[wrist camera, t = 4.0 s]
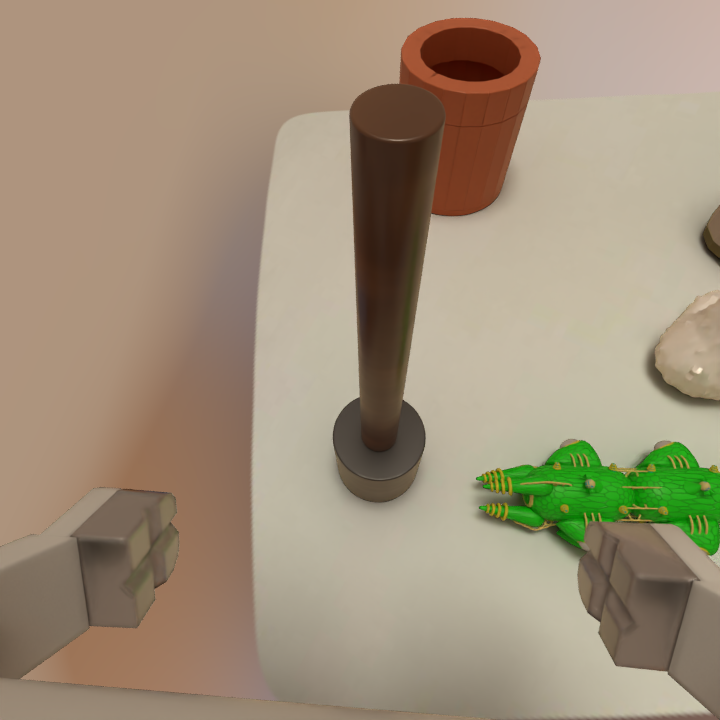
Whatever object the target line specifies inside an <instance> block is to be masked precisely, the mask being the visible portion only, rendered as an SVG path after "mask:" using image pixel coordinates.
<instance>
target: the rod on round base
mask: <svg viewBox="0 0 720 720" xmlns="http://www.w3.org/2000/svg"><path fill="white" fill-rule="evenodd" d="M349 117H350V144H351V171H352V198H353V225H354V252H355V280H356V307H357V334H358V361H359V388H360V397H359V398H357V399H355V400H353V401H352V402H350V403H349V404H348V405H347V406H346V407H345V408H344V409H343V410H342V411H341V413H340V414H339V416H338V418H337V420H336V422H335V425H334V430H333V445H334V450H335V455H336V460H337V465H338V470H339V474H340V477H341V479H342V481H343V483H344V484H345V486H346V487H347V488H348V489H349V490H350V491H351V492H352V493H353V494H355V495H356V496H358V497H360V498H362V499H364V500H367V501H372V502H384V501H389V500H392V499H395V498H397V497H398V496H400V495H402V494H403V493H404V492H405V491H406V490H407V489H408V488H409V487H410V486H411V484H412V483H413V481H414V479H415V476H416V473H417V470H418V467H419V464H420V460H421V457H422V454H423V451H424V447H425V439H426V437H425V429H424V425H423V422H422V420H421V418H420V416H419V415H418V413H417V412H416V411H415V409H414V408H413V407H412V406H411V405H409V404H408V403H407V402H405V401H404V400H403V394H404V387H405V381H406V374H407V368H408V361H409V355H410V348H411V341H412V335H413V328H414V322H415V315H416V309H417V302H418V296H419V289H420V283H421V276H422V269H423V263H424V256H425V250H426V243H427V237H428V230H429V224H430V217H431V211H432V204H433V197H434V191H435V184H436V178H437V171H438V165H439V158H440V152H441V145H442V138H443V132H444V125H445V119H446V113H445V109H444V106H443V104H442V102H441V101H440V100H439V99H438V98H437V97H436V96H435V95H434V94H432V93H431V92H429V91H427V90H425V89H423V88H420V87H417V86H413V85H407V84H387V85H382V86H377V87H374V88H372V89H370V90H367V91H365V92H364V93H362V94H361V95H359V96H358V97H357V98H356V99H355V101H354V102H353V104H352V106H351V109H350V115H349Z"/></svg>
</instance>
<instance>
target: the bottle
mask: <svg viewBox="0 0 720 720" xmlns="http://www.w3.org/2000/svg"><path fill="white" fill-rule="evenodd" d="M703 236H704V239H705V241H706V244H707V247H708V249H709V250H711V251H712V252H713V253H714V254H715V255H716V256H717V257H719V258H720V205H719V206H718V208H717V209H716V210H715V211H714V213H713V214H712V216H711V218H710V220H709V221H708V223H707V226H706V228H705V230H704V233H703Z"/></svg>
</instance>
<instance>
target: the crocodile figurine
mask: <svg viewBox="0 0 720 720" xmlns="http://www.w3.org/2000/svg"><path fill="white" fill-rule="evenodd" d="M621 472H627V473H626V475H624V474H623V473H621ZM476 480H479V481H483V483H486V482H487V483H488V484H486V485H483V488H485V489H491V491H492V492H493V490H496V493H499V491H502V494H505V491H507V492H508V493H509V495H510V496H511V495H512V492H514V493H520V494H522V497H523V500H524V502H525V504H526V506H508V505H507V503H503V504H502V505H501V504H500V503H497V504H496V505H495V504H494V503H491V505H489V504H486V506H480V507H479V509H481V510H484V511H485V512H486V513H489V515H490V516H493V515H494V516H495V517H496V518H499V516H500V518H501V520H503V521H504V520H505V519H506V518H507V519H511V520H513V521H514V522H515V523H517V524H521V525H522V526H524V527H528V528H529V529H531V530H541V529H543V528H548V527H550V526H554V525H557V526H558V527H559V528H560V530H559V531H557V534H558V535H559V536H560V537H562V538H563V539H564V540H566V541H567V542H569V543H570V544H572V545H574V546H576V547H579V548H582V549H584V550H585V551H587V552H588V551H589V548H588V546H587V545H586V543H585V541H584V535H585V530H586V527H587V525H588V524H589V522H590V521H601V522H615V521H638V522H639V523H644V522H645V521H648V522H653V523H660V524H673V525H675V526H677V527H679V528H680V529H681V530H682V531H683V532H684V533H685V534H686V535H687V536H688V537H689V538H690V539H691V540H692V541H693V542H694V543H695V544H696V545H697V546H698V547H699V548H700V549H701V550H702V551H703V552H704V553H705V554H706V555H714V554H715V553H716V552H717V551H718V548H719V544H720V528H719V524H718V523H720V472H719V471H718V467H717V466H715V465H712V467H710V469H707V468H699V465H698V463H697V461H696V459H695V457H694V456H693V455H692V454H691V452H690V451H689V450H688V449H687V448H686V447H685V446H684V445H682V444H681V443H678V442H670V441H661V442H658V443H657V444H656V445H655V446H654V451H652V452H651V453H650V454H649V455H648V456H647V457H646V458H645V459H644V461H643V462H642V463H641V464H639V465H638V466H637V467H636V468H617V467H616V464H614V463H612V464H611V465H610V467H606V466H602V464H601V461H600V459H599V457H598V455H597V453H596V452H595V450H594V449H593V447H592V446H591V445H590V444H589V443H587V442H586V441H583V440H581V441H580V440H579V441H578V440H576V439H568V440H566V441H564V442H563V443H562V444H561V446H560V449H558V450H557V451H556V452H554V453H553V455H552V456H551V457H550V458H549V459H548V460H547V462H546V463H545V465H543V466H540V467H535V466H531V465H521V466H519V467H515V468H510V469H506V470H501V469H500V468H497V469H496V471H494V470H491V472H486V473H485V474H482V476H480V477H477V478H476ZM631 513H632V514H633V515H635V516H631V515H630V514H631ZM624 517H629V518H630V519H623V518H624ZM631 517H637V518H638V519H632V518H631ZM544 520H545V521H544ZM547 520H548V521H550V522H551V523H550V524H548V523H547ZM516 521H517V522H516ZM553 521H558V522H557V523H555V524H552V523H553ZM519 522H520V523H519ZM543 523H544V525H543V526H542V527H540V526H541V525H542V524H543ZM524 524H526V525H524ZM528 525H529V526H528ZM545 525H548V526H545ZM531 527H538V528H539V529H533V528H531Z"/></svg>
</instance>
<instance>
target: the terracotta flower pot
mask: <svg viewBox="0 0 720 720" xmlns="http://www.w3.org/2000/svg"><path fill="white" fill-rule="evenodd" d="M540 59H541V57H540V54H539V51H538V48H537V46H536V45H535V44H534V43H533V42H532V41H531V40H530V39H529V38H528V37H527V36H526V35H525V34H523V33H522V32H520V31H518V30H517V29H515V28H513V27H510V26H507V25H504V24H501V23H498V22H495V21H494V22H493V21H490V20H483V19H477V18H451V19H445V20H440V21H435V22H433V23H430V24H428V25H425V26H423V27H420V28H418V29H417V30H416V31H414V32H413V33H412V34H411V35H409V36H408V37H407V39H406V41H405V43H404V45H403V47H402V49H401V65H400V83H399V84H407V85H413V86H417V87H420V88H423V89H425V90H427V91H429V92H431V93H432V94H434V95H435V96H436V97H437V98H438V99H439V100H440V101H441V102H442V104H443V106H444V109H445V113H446V119H445V125H444V132H443V138H442V145H441V152H440V158H439V165H438V171H437V178H436V184H435V191H434V197H433V204H432V211H431V213H434V214H439V215H447V216H458V215H466V214H471V213H474V212H477V211H479V210H481V209H484V208H485V207H487V206H488V205H490V204H491V203H492V202H493V201H494V200H495V199H496V198H497V196H498V195H499V193H500V191H501V188H502V185H503V182H504V179H505V176H506V172H507V169H508V166H509V163H510V159H511V156H512V153H513V149H514V146H515V143H516V140H517V136H518V133H519V130H520V127H521V123H522V120H523V117H524V113H525V110H526V107H527V104H528V100H529V97H530V94H531V90H532V87H533V84H534V81H535V77H536V74H537V71H538V67H539V64H540Z"/></svg>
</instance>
